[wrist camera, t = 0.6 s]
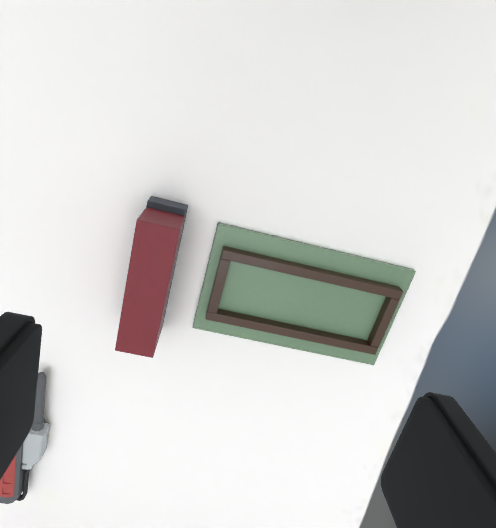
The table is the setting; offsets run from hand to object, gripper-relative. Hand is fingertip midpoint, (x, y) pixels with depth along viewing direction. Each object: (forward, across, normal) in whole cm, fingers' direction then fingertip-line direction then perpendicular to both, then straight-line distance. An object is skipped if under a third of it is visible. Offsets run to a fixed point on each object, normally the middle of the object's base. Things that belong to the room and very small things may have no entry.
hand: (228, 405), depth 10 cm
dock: (+32, -10, +10) cm, 35 cm away
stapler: (+32, +5, +10) cm, 34 cm away
